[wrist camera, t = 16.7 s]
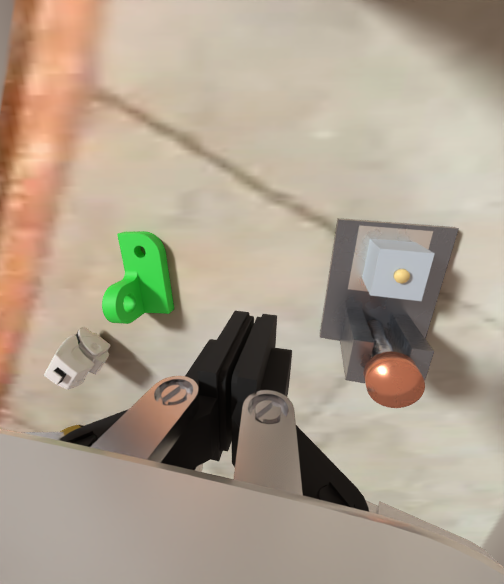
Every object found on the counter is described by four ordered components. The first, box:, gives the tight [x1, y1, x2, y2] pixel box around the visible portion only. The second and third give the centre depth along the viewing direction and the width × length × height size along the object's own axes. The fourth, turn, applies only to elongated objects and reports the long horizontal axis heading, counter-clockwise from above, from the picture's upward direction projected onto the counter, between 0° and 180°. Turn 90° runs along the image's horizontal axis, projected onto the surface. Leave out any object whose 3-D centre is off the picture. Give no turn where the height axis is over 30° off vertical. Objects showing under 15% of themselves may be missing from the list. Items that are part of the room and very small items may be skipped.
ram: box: [364, 320, 425, 408], centre depth 33 cm, size 5×5×12 cm
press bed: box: [320, 218, 459, 383], centre depth 33 cm, size 16×13×10 cm
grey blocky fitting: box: [44, 327, 110, 389], centre depth 46 cm, size 6×7×10 cm
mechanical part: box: [102, 231, 174, 324], centre depth 40 cm, size 12×6×8 cm, turn 3°
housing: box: [362, 239, 435, 301], centre depth 32 cm, size 5×5×6 cm
